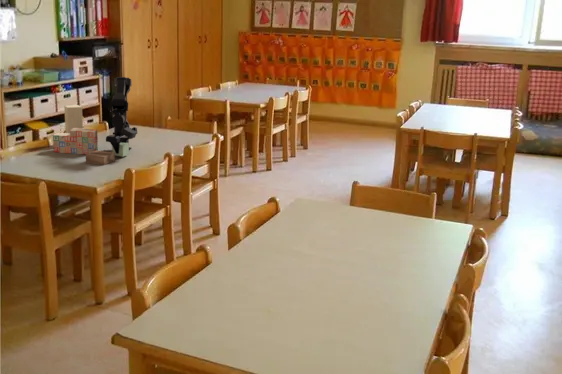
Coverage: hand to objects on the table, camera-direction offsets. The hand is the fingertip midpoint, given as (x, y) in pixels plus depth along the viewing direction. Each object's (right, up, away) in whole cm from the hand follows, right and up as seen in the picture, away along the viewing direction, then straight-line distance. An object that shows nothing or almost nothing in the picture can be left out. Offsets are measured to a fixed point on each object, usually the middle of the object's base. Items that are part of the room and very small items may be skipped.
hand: (120, 152), depth 311 cm
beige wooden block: (-31, +6, +21) cm, 37 cm away
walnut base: (-7, -5, -10) cm, 14 cm away
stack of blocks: (-25, 0, +5) cm, 25 cm away
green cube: (0, -1, 0) cm, 1 cm away
